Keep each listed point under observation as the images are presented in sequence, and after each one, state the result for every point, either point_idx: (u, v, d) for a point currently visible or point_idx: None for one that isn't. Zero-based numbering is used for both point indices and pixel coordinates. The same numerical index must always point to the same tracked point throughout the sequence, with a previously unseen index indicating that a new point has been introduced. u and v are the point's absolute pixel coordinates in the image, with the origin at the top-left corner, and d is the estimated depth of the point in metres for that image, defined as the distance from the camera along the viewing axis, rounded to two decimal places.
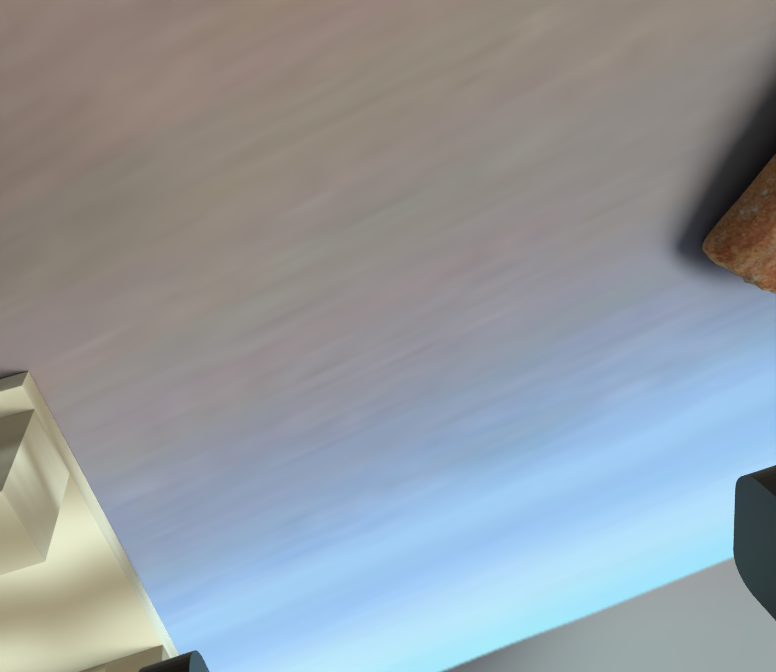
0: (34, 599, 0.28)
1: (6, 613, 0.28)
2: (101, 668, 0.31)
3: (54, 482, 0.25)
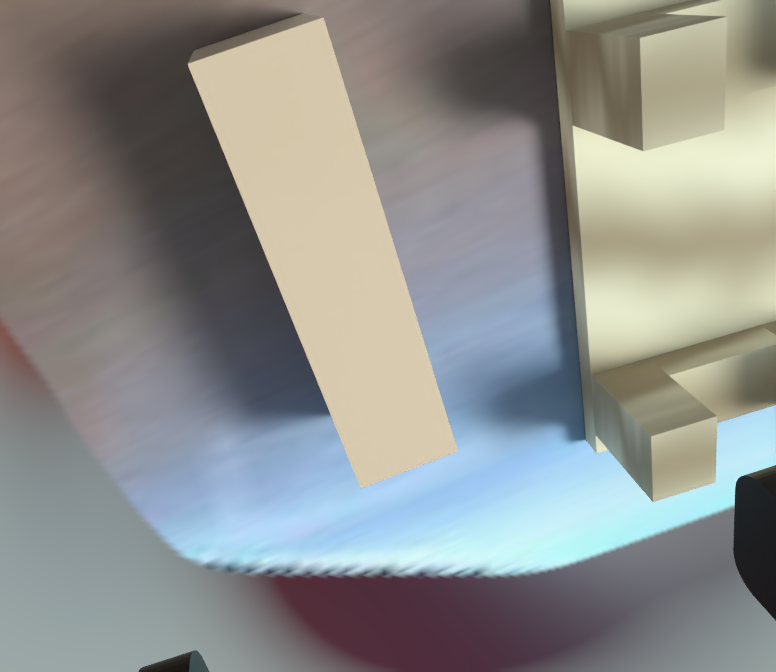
0: (739, 225, 0.27)
1: (710, 240, 0.27)
2: (759, 328, 0.29)
3: None
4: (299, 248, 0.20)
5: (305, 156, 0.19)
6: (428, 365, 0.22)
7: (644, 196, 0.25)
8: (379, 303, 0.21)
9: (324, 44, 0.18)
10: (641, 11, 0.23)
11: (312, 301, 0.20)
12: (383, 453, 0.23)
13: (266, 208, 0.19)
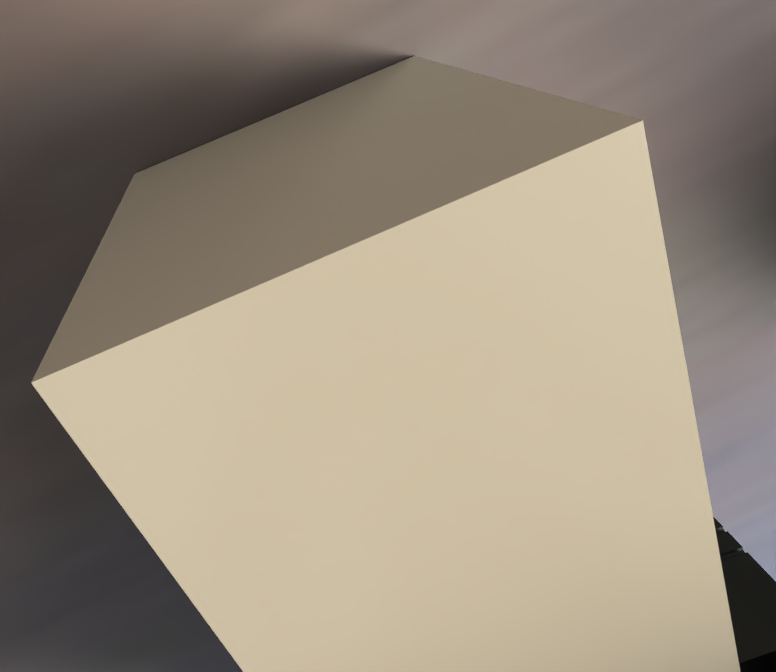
0: None
1: None
2: None
3: None
4: None
5: (521, 601, 0.05)
6: None
7: None
8: None
9: (631, 229, 0.04)
10: None
11: None
12: None
13: None
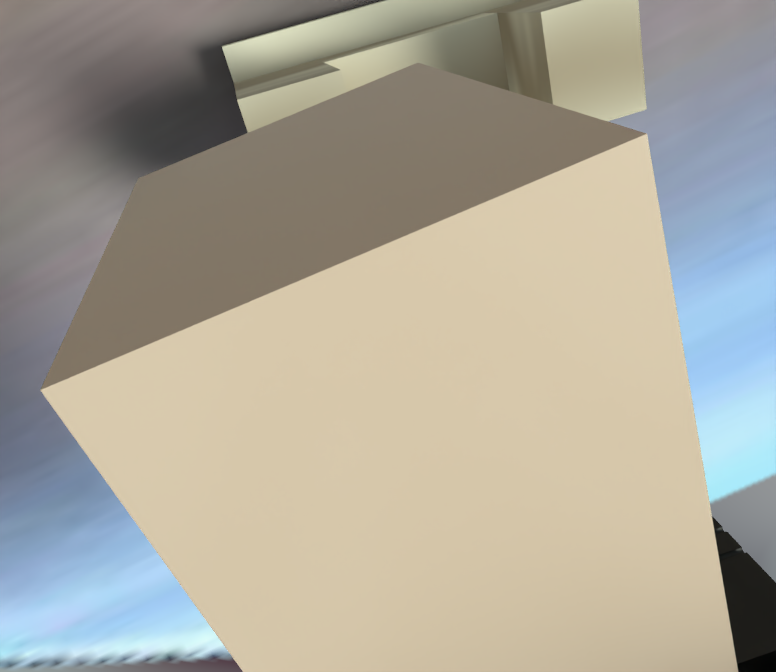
0: None
1: None
2: None
3: None
4: None
5: (523, 607, 0.05)
6: None
7: None
8: None
9: (634, 241, 0.04)
10: (320, 57, 0.20)
11: None
12: None
13: None
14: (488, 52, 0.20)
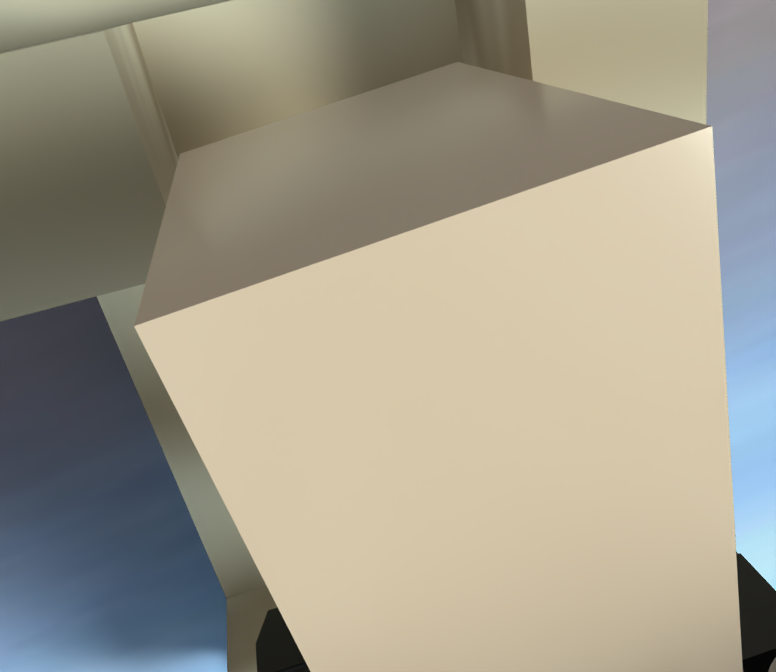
0: None
1: None
2: None
3: None
4: None
5: (551, 577, 0.05)
6: None
7: None
8: None
9: (690, 227, 0.04)
10: (147, 17, 0.12)
11: None
12: None
13: None
14: (431, 21, 0.12)
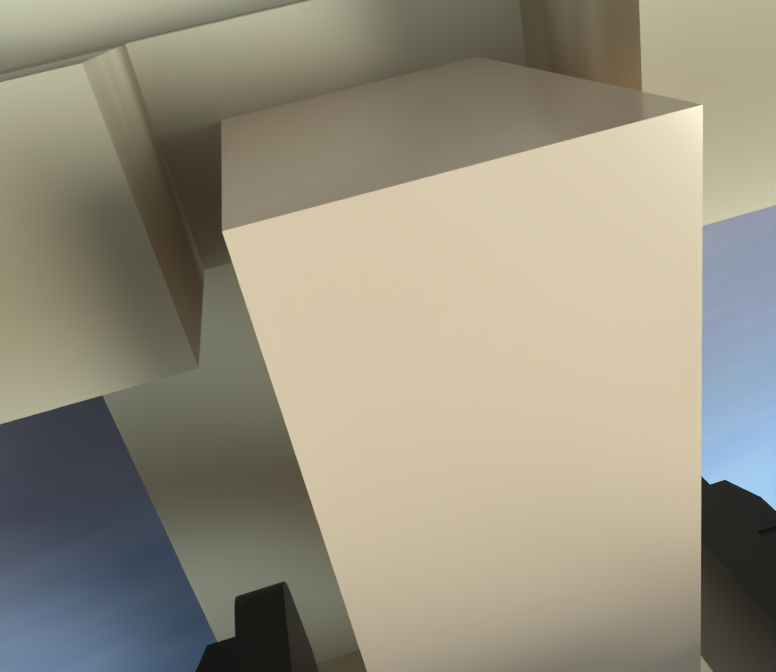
0: None
1: None
2: None
3: None
4: None
5: (542, 493, 0.06)
6: None
7: (264, 401, 0.13)
8: None
9: (680, 189, 0.05)
10: (144, 34, 0.10)
11: None
12: None
13: (407, 618, 0.07)
14: (492, 38, 0.09)
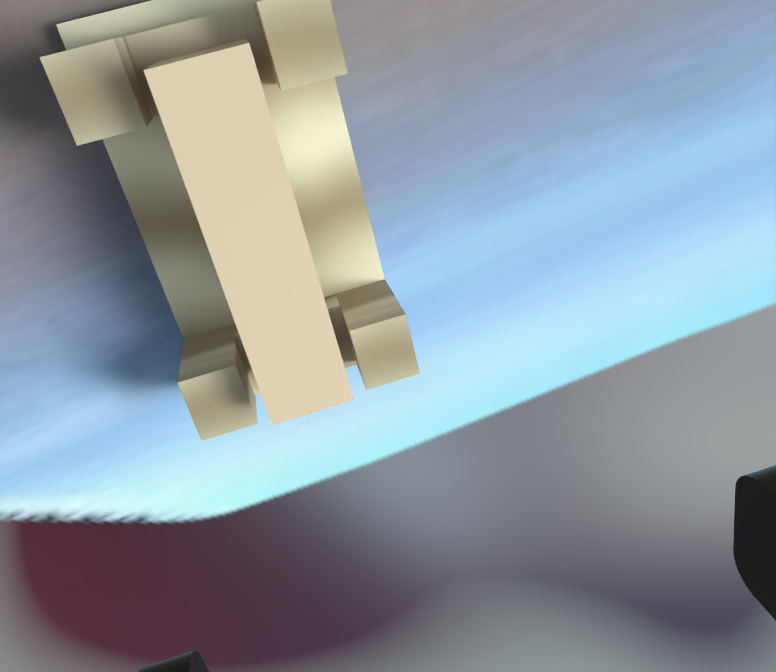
0: None
1: None
2: (332, 296, 0.34)
3: None
4: (226, 219, 0.25)
5: (232, 147, 0.24)
6: (329, 324, 0.28)
7: None
8: (289, 269, 0.26)
9: (249, 63, 0.23)
10: (131, 34, 0.28)
11: (235, 263, 0.26)
12: (291, 396, 0.28)
13: (201, 185, 0.24)
14: (250, 32, 0.27)
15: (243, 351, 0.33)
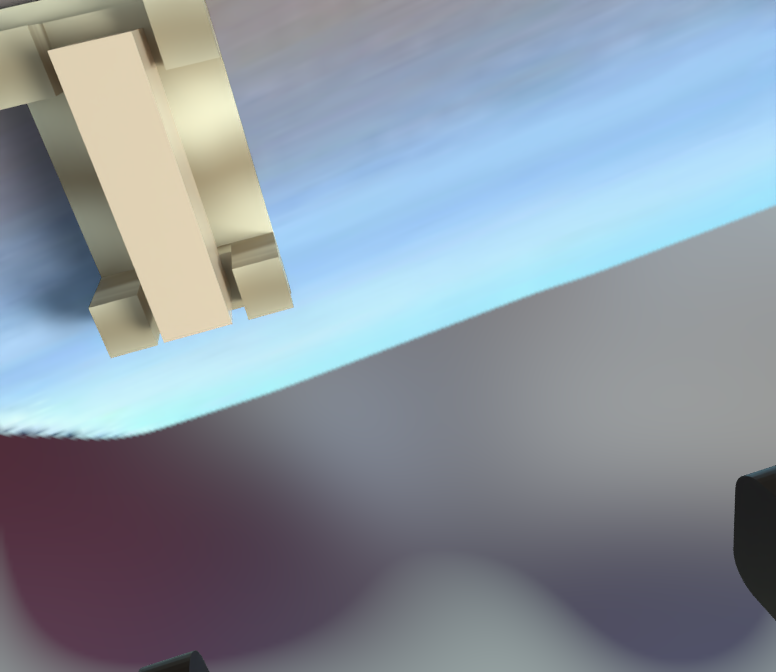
0: None
1: None
2: (227, 245, 0.41)
3: (215, 38, 0.35)
4: (118, 171, 0.32)
5: (121, 113, 0.31)
6: (208, 259, 0.34)
7: None
8: (172, 213, 0.33)
9: (132, 47, 0.30)
10: (51, 21, 0.34)
11: (127, 207, 0.32)
12: (179, 319, 0.35)
13: (97, 143, 0.31)
14: (146, 22, 0.34)
15: None
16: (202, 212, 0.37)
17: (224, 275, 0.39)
